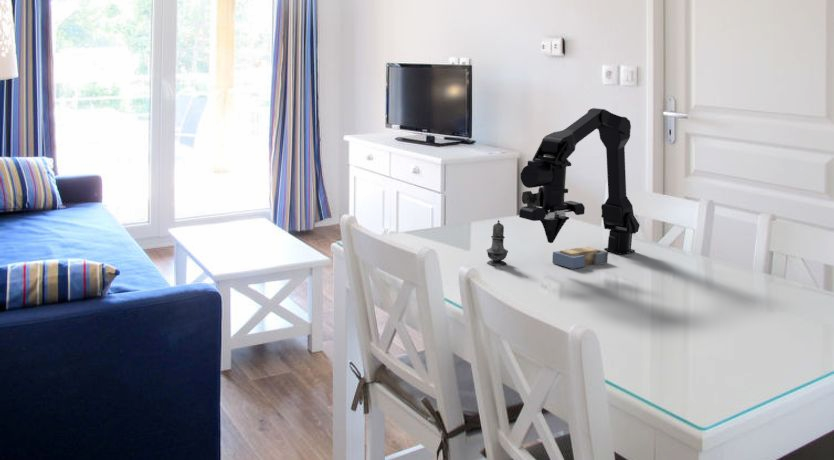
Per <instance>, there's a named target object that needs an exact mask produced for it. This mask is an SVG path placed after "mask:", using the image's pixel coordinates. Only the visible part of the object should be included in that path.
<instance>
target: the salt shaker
mask: <svg viewBox="0 0 834 460" xmlns="http://www.w3.org/2000/svg"><path fill="white" fill-rule="evenodd" d="M504 229H505V227H504V225H503V224H502V223H501V221H500V220H497V223H495V224H493V226H492V235H491V239H492V240H491V246H490V248H487V249H486V252H487V257H488V258H489V259H490V260H489V261H487V262H486V264H487V265H488V266H493V267H504V266H507V262H506V261H504V260H505V259H506V257H507V256H508V253H509V250H508V249H505V247H504V239H505V238H506V237H505V236H504V234H505V233H504Z"/></svg>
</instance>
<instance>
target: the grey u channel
mask: <svg viewBox="0 0 834 460" xmlns="http://www.w3.org/2000/svg"><path fill="white" fill-rule="evenodd" d="M596 249H597V250H598V253H595V254H594V259H593V264H592V265H593V266H598V265H604V264H608V258H609V257H608V256H609V251H606V250H601V249H598V248H596Z"/></svg>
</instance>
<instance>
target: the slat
mask: <svg viewBox="0 0 834 460" xmlns="http://www.w3.org/2000/svg"><path fill="white" fill-rule="evenodd" d="M597 249H598V248H594V247H590V246H582V247H576V248H569V249H568V248H567V249H563V250H559V251H560V253H562V254H566V255H569V256H572V257H574V256H580V255H584V256H585V263H584V266H586V265H594V264H593V259H594V254H595V253H598V250H599V249H598V250H597Z"/></svg>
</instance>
